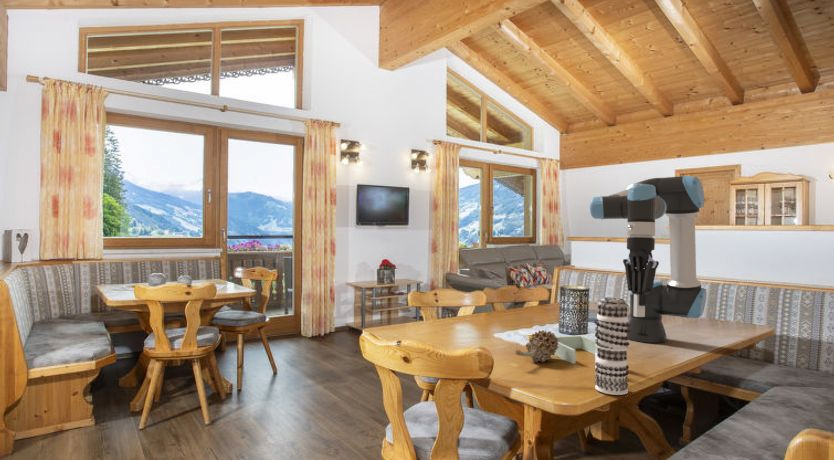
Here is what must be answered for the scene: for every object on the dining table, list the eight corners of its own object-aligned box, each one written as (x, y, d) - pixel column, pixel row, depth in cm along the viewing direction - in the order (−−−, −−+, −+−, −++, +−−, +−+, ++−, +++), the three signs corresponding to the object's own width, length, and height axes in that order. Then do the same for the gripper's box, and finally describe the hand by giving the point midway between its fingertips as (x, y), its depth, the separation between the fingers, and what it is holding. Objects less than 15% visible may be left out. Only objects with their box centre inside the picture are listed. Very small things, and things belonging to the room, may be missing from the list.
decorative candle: (593, 392, 130) (594, 299, 130) (593, 382, 139) (595, 295, 139) (630, 397, 127) (631, 302, 127) (628, 386, 136) (629, 297, 136)
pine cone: (538, 354, 170) (539, 325, 170) (564, 359, 164) (565, 329, 164) (505, 367, 154) (506, 335, 154) (533, 373, 148) (533, 340, 148)
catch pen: (581, 347, 181) (582, 335, 181) (613, 361, 162) (613, 347, 162) (544, 349, 177) (544, 337, 177) (572, 363, 159) (572, 349, 159)
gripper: (615, 236, 149) (614, 313, 149) (644, 236, 137) (642, 320, 136) (637, 237, 151) (635, 313, 151) (667, 237, 138) (665, 320, 138)
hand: (639, 316), depth 143 cm, fingers closed
